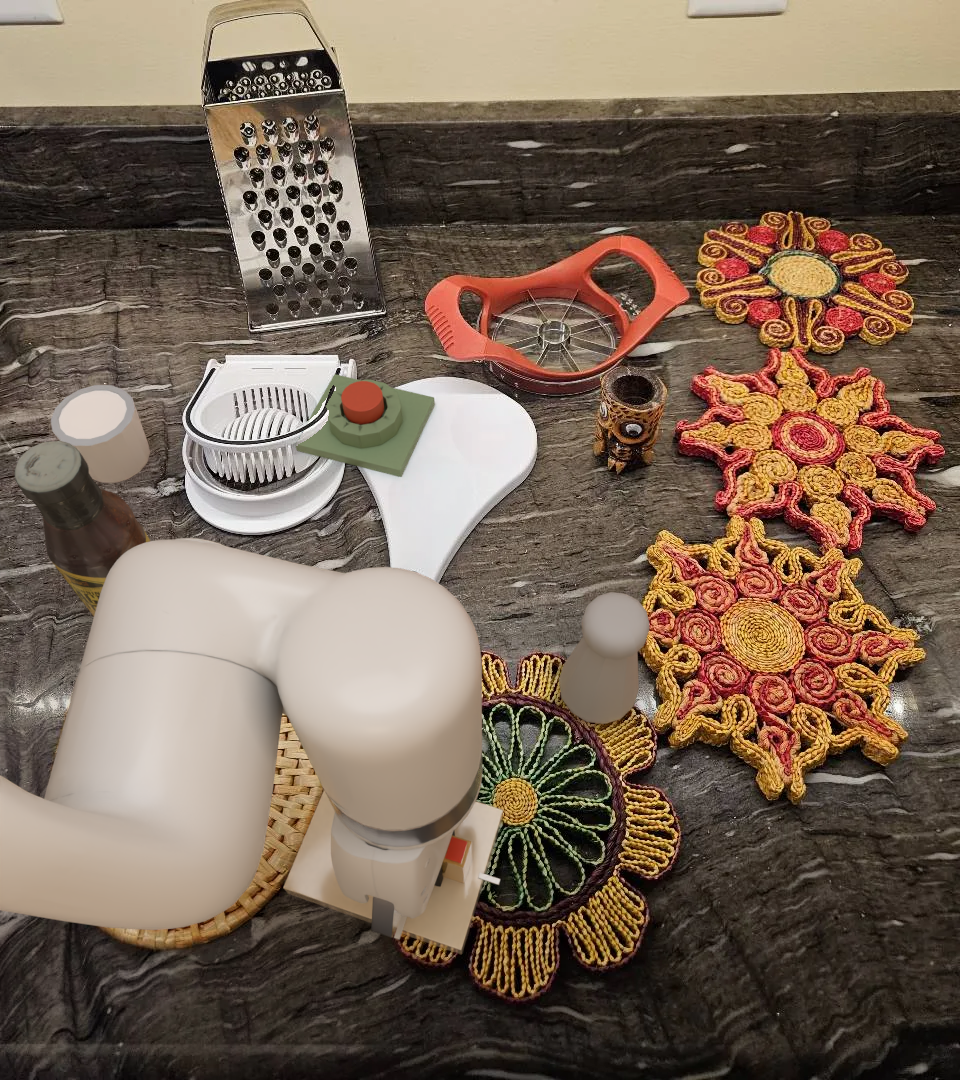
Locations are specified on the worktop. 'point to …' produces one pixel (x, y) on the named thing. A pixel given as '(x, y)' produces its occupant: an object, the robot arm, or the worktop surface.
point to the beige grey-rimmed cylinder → (103, 431)
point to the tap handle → (457, 859)
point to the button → (362, 402)
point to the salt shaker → (605, 659)
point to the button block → (371, 429)
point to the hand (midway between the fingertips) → (424, 856)
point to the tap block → (447, 903)
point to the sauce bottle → (77, 517)
